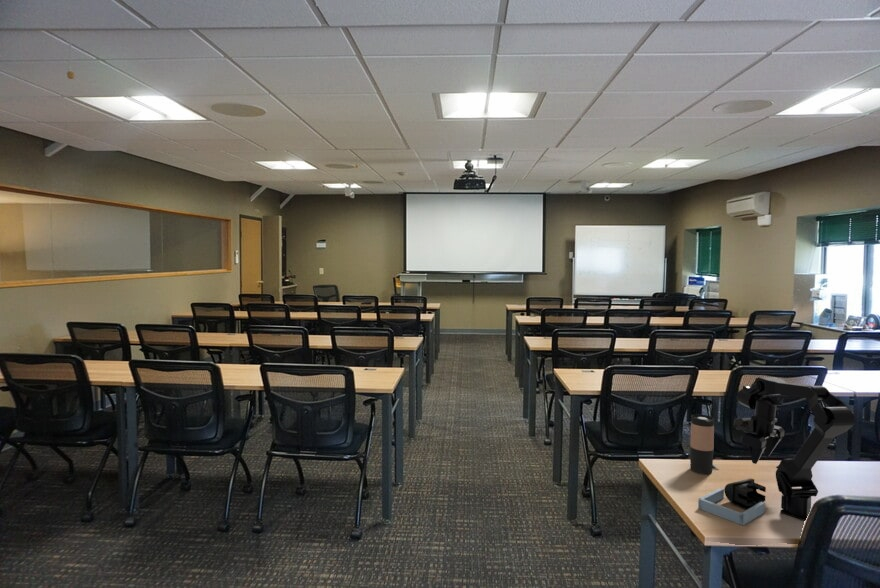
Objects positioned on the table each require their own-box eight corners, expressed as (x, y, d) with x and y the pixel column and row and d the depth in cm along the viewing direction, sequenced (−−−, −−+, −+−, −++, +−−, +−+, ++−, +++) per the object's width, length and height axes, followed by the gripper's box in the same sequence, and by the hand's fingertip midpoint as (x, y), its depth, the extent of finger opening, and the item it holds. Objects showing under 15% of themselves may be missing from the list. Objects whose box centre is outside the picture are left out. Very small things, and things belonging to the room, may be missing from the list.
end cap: (744, 496, 165) (745, 475, 165) (766, 505, 158) (766, 484, 158) (723, 501, 161) (724, 480, 161) (744, 510, 154) (745, 489, 154)
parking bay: (764, 512, 153) (764, 502, 153) (743, 525, 145) (743, 515, 145) (720, 496, 164) (720, 487, 164) (698, 508, 156) (698, 498, 156)
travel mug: (692, 465, 191) (693, 413, 190) (714, 470, 186) (716, 416, 186) (687, 471, 185) (688, 417, 184) (710, 476, 180) (712, 421, 180)
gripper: (751, 402, 177) (747, 445, 179) (725, 412, 166) (721, 458, 168) (787, 411, 168) (782, 456, 170) (763, 423, 157) (758, 470, 159)
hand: (760, 459), depth 167 cm, fingers open, 9 cm apart
